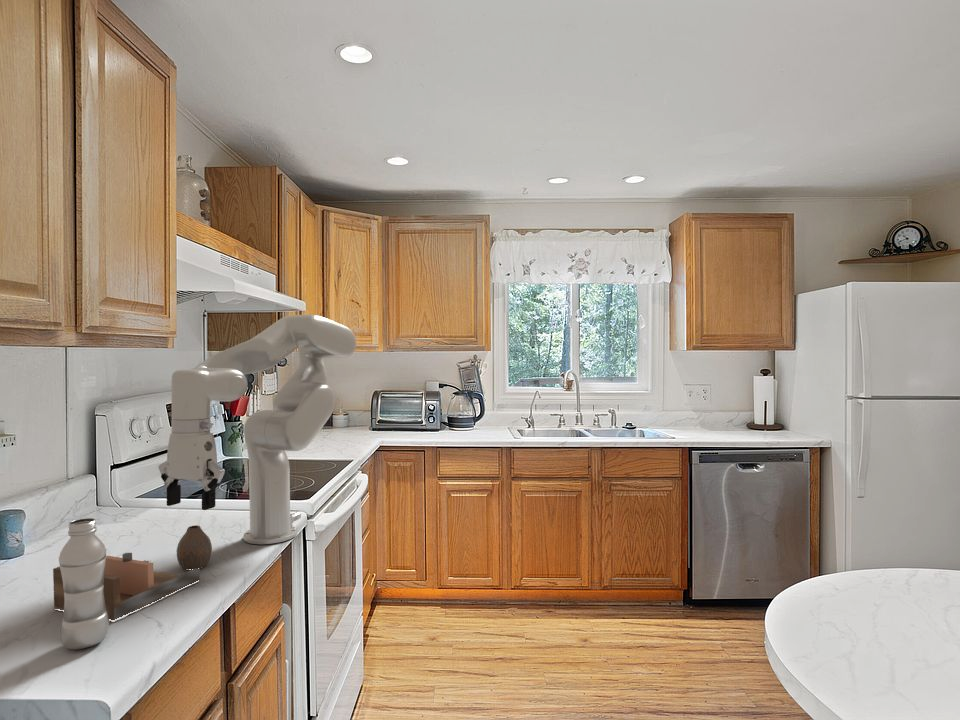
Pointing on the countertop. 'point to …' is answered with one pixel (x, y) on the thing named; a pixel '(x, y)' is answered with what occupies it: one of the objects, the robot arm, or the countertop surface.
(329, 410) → the robot arm
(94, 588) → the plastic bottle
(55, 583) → the pusher lane
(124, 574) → the pusher plate
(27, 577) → the countertop surface
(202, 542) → the vase
